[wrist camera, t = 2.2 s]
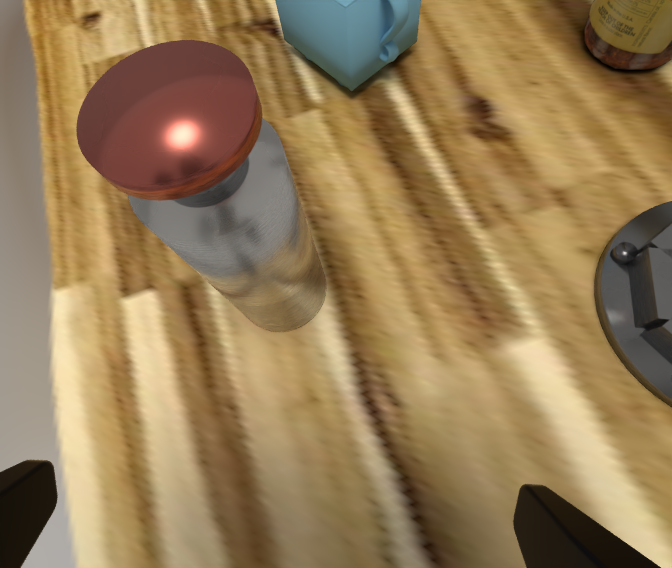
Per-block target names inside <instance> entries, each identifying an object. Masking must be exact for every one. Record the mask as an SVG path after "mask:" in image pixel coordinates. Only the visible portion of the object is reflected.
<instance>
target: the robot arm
mask: <svg viewBox="0 0 672 568" xmlns="http://www.w3.org/2000/svg"><path fill="white" fill-rule="evenodd" d="M56 503H57V488H56V480H55V472H54V466H53V465H52V463H51V462H50V461H47V460H26V461H23V462H21V463H19V464H17V465H15V466H13V467H10V468H8V469H6V470H4V471H2V472H0V568H21V566H22V564H23V563H24V561H25V559H26V558H27V556H28V554H29V552H30V551H31V549H32V547H33V546H34V544H35V542H36V540H37V539H38V537H39V535H40V534H41V532H42V530H43V528H44V527H45V525H46V523H47V521H48V520H49V518H50V517H51V515H52V513H53V511H54V509H55V507H56ZM513 524H514V530H515V534H516V537H517V540H518V543H519V546H520V549H521V552H522V555H523V558H524V561H525V564H526V567H527V568H661V567H659V566H658V565H657V564H655V563H654V562H652V561H651V560H649V559H648V558H647V557H645V556H644V555H642V554H641V553H640V552H638V551H637V550H635V549H634V548H632V547H631V546H630V545H628V544H627V543H625V542H624V541H623V540H621V539H620V538H618V537H617V536H615V535H614V534H613V533H611V532H610V531H608V530H607V529H606V528H604V527H603V526H601V525H600V524H599V523H597V522H596V521H594V520H593V519H591V518H590V517H589V516H587V515H586V514H584V513H583V512H582V511H580V510H579V509H577V508H576V507H574V506H573V505H572V504H570V503H569V502H567V501H566V500H565V499H563V498H562V497H560V496H559V495H557V494H556V493H555V492H553V491H552V490H550V489H549V488H547V487H546V486H544V485H533V484H525V485H522V486H521V488H520V490H519V495H518V499H517V504H516V509H515V514H514V520H513Z"/></svg>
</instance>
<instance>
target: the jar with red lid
mask: <svg viewBox="0 0 672 568" xmlns="http://www.w3.org/2000/svg"><path fill="white" fill-rule="evenodd" d="M77 139H78V144H79V147H80V149H81V152H82V154H83V155H84V157H85V158H86V160H87V161H88V162H89V163H90V164H91V165H92V166H93V167H94V168H95V169H96V170H97V171H98V172H99V173H100V174H101V175H102V176H103V177H104V178H105V179H106V180H107V181H108V182H110V183H111V184H112V185H113V186H114V187H116V188H117V189H118V190H120V191H122V192H124V193H126V194H128V198H129V201H130V204H131V207H132V209H133V211H134V213H135V214H136V216H137V217H138V219H139V220H140V221H141V222H142V223H143V224H144V225H145V226H146V227H147V228H149V229H150V230H151V231H152V232H153V233H154V234H155V235H156V236H157V237H159V238H160V239H161V240H162V241H163V242H164V243H165V244H166V245H167V246H169V247H170V248H171V249H172V250H173V251H174V252H175V253H176V254H178V255H179V256H180V257H181V258H182V259H183V260H184V261H185V262H186V263H188V264H189V265H190V266H191V267H192V268H193V269H194V270H195V271H196V272H198V273H199V274H200V275H201V276H202V277H203V278H204V279H205V280H206V281H208V282H209V283H210V284H211V285H212V286H213V287H214V288H215V289H216V290H218V291H219V292H220V293H221V294H222V295H223V296H224V297H225V298H226V299H228V300H229V301H230V302H231V303H232V304H233V305H234V306H235V307H236V308H238V309H239V310H240V311H241V312H242V313H243V314H244V315H245V316H246V317H248V318H249V319H250V320H251V321H252V322H253V323H255V324H256V325H257V326H259V327H261V328H263V329H266V330H269V331H275V332H285V331H290V330H294V329H297V328H299V327H301V326H303V325H305V324H306V323H308V322H309V321H310V320H311V319H312V318H313V317H314V316H315V315H316V314H317V313H318V311H319V310H320V308H321V307H322V304H323V302H324V299H325V296H326V279H325V275H324V272H323V269H322V266H321V263H320V260H319V257H318V254H317V251H316V248H315V244H314V241H313V238H312V235H311V232H310V229H309V226H308V223H307V220H306V217H305V214H304V211H303V208H302V204H301V201H300V198H299V195H298V192H297V189H296V186H295V183H294V180H293V177H292V174H291V171H290V168H289V164H288V161H287V158H286V155H285V152H284V149H283V146H282V143H281V141H280V138H279V136H278V134H277V133H276V131H275V130H274V129H273V127H272V126H271V125H270V124H269V123H268V122H267V121H266V120H264V119H263V118H262V107H261V103H260V99H259V96H258V93H257V91H256V88H255V85H254V82H253V79H252V76H251V74H250V72H249V70H248V68H247V67H246V66H245V64H244V63H243V62H242V61H241V60H240V59H239V58H238V57H237V56H236V55H235V54H233V53H232V52H231V51H229V50H227V49H225V48H223V47H221V46H218V45H216V44H213V43H208V42H204V41H195V40H180V41H171V42H166V43H161V44H157V45H154V46H150V47H148V48H145V49H142V50H140V51H138V52H136V53H134V54H132V55H130V56H128V57H126V58H125V59H123V60H121V61H120V62H118V63H117V64H116V65H114V66H113V67H112V68H110V69H109V70H108V71H107V72H106V73H105V74H104V75H103V76H102V77H101V78H100V79H99V80H98V81H97V82H96V83H95V84H94V86H93V87H92V88H91V90H90V91H89V93H88V94H87V96H86V98H85V99H84V102H83V104H82V106H81V109H80V112H79V115H78V120H77Z"/></svg>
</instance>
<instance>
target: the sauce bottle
mask: <svg viewBox="0 0 672 568" xmlns="http://www.w3.org/2000/svg"><path fill="white" fill-rule="evenodd" d="M585 43H586V45H587V47H588V49H589V50H590V52H591V53H592V54H593V55H594V56H595V57H596V58H598V59H600V60H601V62H602V63H605V64H607V65H609V66H611V67H614V68H615V69H628V70H636V69H638V70H645V69H652V68H656V67H658V66H661V65H663V64H665V63H666V62H668V61H669V60H671V59H672V0H594V1H593V4H592V6H591V9H590V15H589V17H588V21H587V24H586V27H585Z"/></svg>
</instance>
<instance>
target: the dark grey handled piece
mask: <svg viewBox="0 0 672 568" xmlns="http://www.w3.org/2000/svg"><path fill="white" fill-rule="evenodd" d="M595 301H596V307H597V312H598V316H599V319H600V322H601V325H602V328H603V330H604V332H605V334H606V337H607V339H608V341H609V343H610V344H611V346H612V348H613V349H614V351H615V353H616V354H617V356H618V357H619V358H620V360H621V361H622V362H623V364H624V365H625V366H626V367H627V369H628V370H629V371H630V372H631V373H632V374H633V375H634V376H635V377H636V378H637V379H638V381H639V382H640V383H641V384H643V385H644V386H645V387H646V388H647V389H648V390H650V391H651V392H652V393H653V394H654V395H655V396H657V397H658V398H660V399H661V400H662V401H664V402H665V403H667V404H668V405H670V406H671V407H672V201H670V202H667V203H664V204H661V205H658V206H655V207H653V208H651V209H649V210H647V211H645V212H643V213H641V214H640V215H638V216H637V217H636V218H634V219H633V220H631V221H630V222H629V223H628V224H626V225H625V226H624V227H623V228H622V229H621V230H620V231H619V232H618V233H617V234H616V235H614V237H613V238H612V239H611V241H610V242H609V243H608V244H607V246H606V248H605V250H604V251H603V253H602V255H601V257H600V260H599V263H598V267H597V270H596V277H595Z"/></svg>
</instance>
